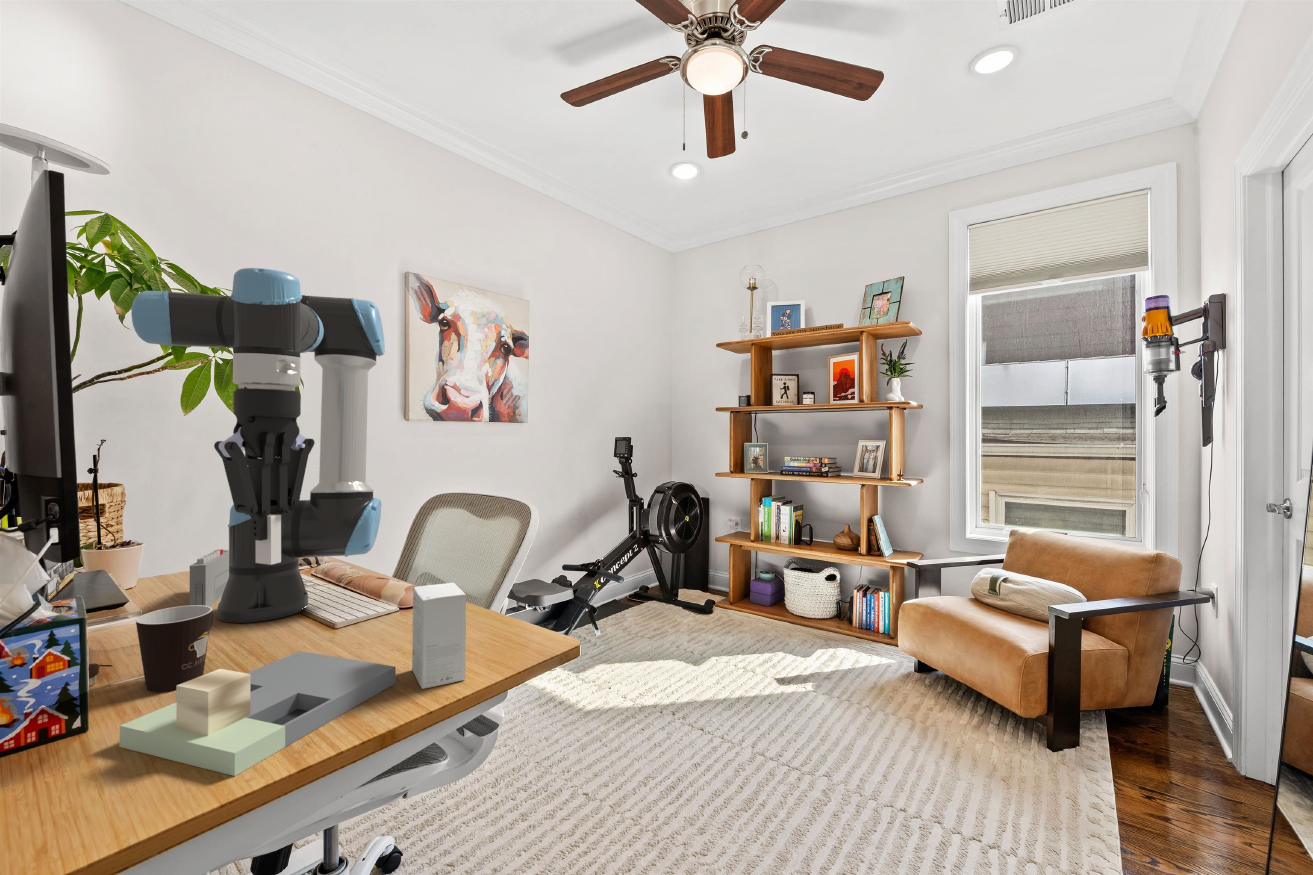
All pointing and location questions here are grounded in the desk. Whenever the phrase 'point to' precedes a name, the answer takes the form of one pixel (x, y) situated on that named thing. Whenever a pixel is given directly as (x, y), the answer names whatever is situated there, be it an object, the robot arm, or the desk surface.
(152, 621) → the coffee mug
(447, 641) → the small box
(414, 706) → the desk surface
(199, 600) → the cassette player
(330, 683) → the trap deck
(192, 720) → the maple block
